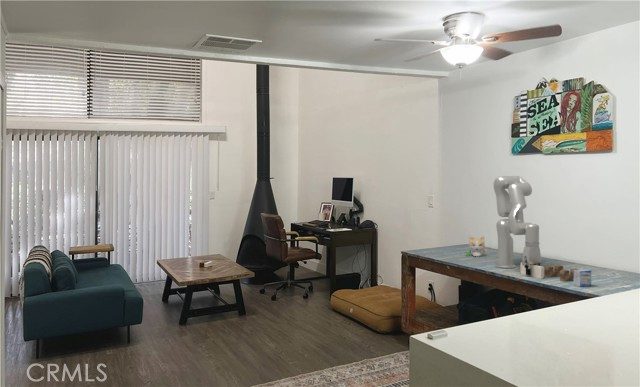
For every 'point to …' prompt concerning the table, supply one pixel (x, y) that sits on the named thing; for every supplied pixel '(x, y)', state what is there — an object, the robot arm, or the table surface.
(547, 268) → the walnut rail
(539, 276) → the cream rectangular block
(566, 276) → the walnut rail
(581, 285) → the medicine box
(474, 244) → the kitten
